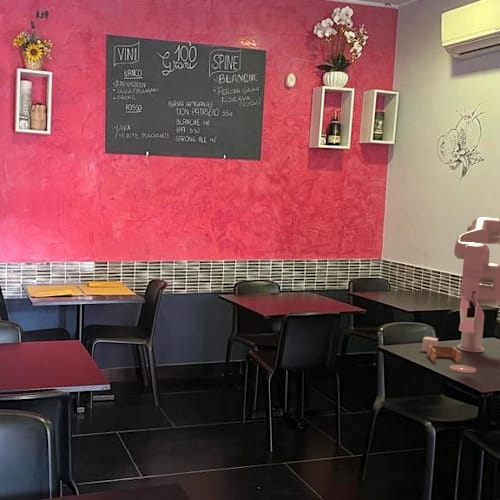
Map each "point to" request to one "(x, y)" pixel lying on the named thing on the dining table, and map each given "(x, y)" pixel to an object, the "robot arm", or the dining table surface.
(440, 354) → the wooden u-shaped bracket
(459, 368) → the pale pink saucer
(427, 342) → the pale pink cube
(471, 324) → the beer glass
